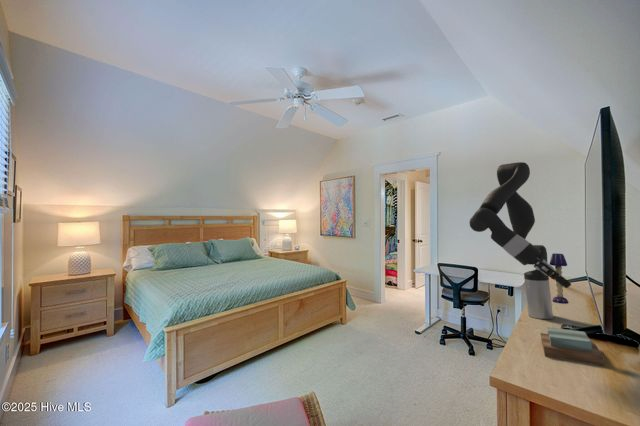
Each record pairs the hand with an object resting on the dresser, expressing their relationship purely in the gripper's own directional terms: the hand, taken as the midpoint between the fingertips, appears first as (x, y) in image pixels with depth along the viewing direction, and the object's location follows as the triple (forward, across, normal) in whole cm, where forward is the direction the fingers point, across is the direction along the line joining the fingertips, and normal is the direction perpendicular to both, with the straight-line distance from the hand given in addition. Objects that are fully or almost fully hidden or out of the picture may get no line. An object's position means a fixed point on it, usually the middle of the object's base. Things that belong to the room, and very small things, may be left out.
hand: (568, 285), depth 94 cm
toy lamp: (+3, 0, +6) cm, 6 cm away
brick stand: (+15, 0, +17) cm, 22 cm away
